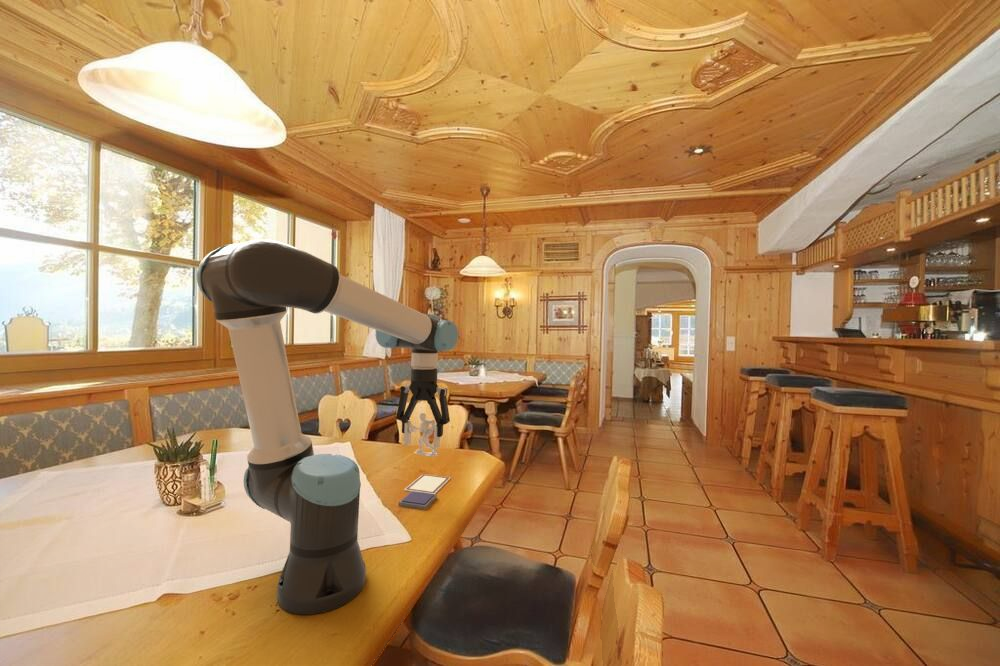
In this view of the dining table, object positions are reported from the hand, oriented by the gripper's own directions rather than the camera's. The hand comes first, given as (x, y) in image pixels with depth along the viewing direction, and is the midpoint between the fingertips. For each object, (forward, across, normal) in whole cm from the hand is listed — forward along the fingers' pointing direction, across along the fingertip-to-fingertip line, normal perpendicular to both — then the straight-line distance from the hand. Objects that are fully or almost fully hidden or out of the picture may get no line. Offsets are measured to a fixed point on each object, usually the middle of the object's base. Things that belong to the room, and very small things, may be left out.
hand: (421, 446), depth 114 cm
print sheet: (+16, +3, -12) cm, 20 cm away
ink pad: (+16, 0, +1) cm, 16 cm away
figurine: (+3, 0, 0) cm, 3 cm away
